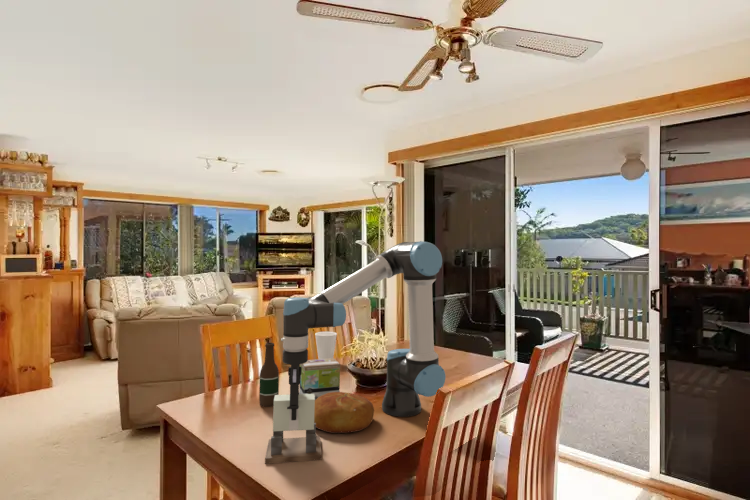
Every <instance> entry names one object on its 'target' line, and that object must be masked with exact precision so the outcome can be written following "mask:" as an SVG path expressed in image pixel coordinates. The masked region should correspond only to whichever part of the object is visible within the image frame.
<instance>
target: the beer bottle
mask: <svg viewBox="0 0 750 500" xmlns="http://www.w3.org/2000/svg"><path fill="white" fill-rule="evenodd" d="M264 347H265V353H264V355H265V356H264V363H263V365H262V367H261V369H260V372H259V395H258V396H259V399H258V400H259V406H260V407H263V408H264V407H265V408H266V407H274V397H275V395H280V394H279V385H280V382H279V381H280V379H279V377H280V376H279V375H280V373H279V372H280V371H279V367H278V365H277V363H276V362H275V349H274V347H275V343H274V342H266V343H265V345H264Z"/></svg>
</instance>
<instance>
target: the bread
mask: <svg viewBox="0 0 750 500" xmlns="http://www.w3.org/2000/svg"><path fill="white" fill-rule="evenodd" d="M374 414H375V407H374V405H373V403H372V402H371V401H370V400H369V399H368V398H367V397H365V396H361V395H359V394H355V393H351V392H344V391H339V392H330V393H326V394H324V395H322V396H320V397H318V398H317V399H316V400H315V408H314V423H316V429H318V430H321V431H324V432H327V433H333V434H334V433H335V434H337V433H338V434H344V433H347V434H348V433H354V432H358V431H362V430H365V429H366V428H368V427H369V426H370V425H371V423H372V422H373V420H374V419H373V418H374Z"/></svg>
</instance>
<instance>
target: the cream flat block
mask: <svg viewBox="0 0 750 500" xmlns="http://www.w3.org/2000/svg"><path fill="white" fill-rule="evenodd" d="M289 406H290V394H279V395H275V397H274V406H272V407H273V413H272V414H273V415H272V416H273V417H272V432H273V431H283V432H288V431H289V409H287V407H289ZM298 406H299V421H298V430H297V431H306V430H314V408H315V396H314V394H299V395H298ZM290 431H292V432H293V431H294V430H290ZM290 431H289V432H290Z"/></svg>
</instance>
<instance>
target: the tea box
mask: <svg viewBox="0 0 750 500" xmlns="http://www.w3.org/2000/svg"><path fill="white" fill-rule="evenodd" d="M300 367H302V373H301V381H300V384H299V394H314V396H315V400H316V399H317V398H318V397H320V396H322V395H324V394H326V393H330V392H340V389H341V387H340V384H341V381H340V379H341V378H340V377H341V363H339V361H338V360H336V358H334V357H333V358H330V359H318V358H317V359H308V361H307V362H306V363H303V364H300Z"/></svg>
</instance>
